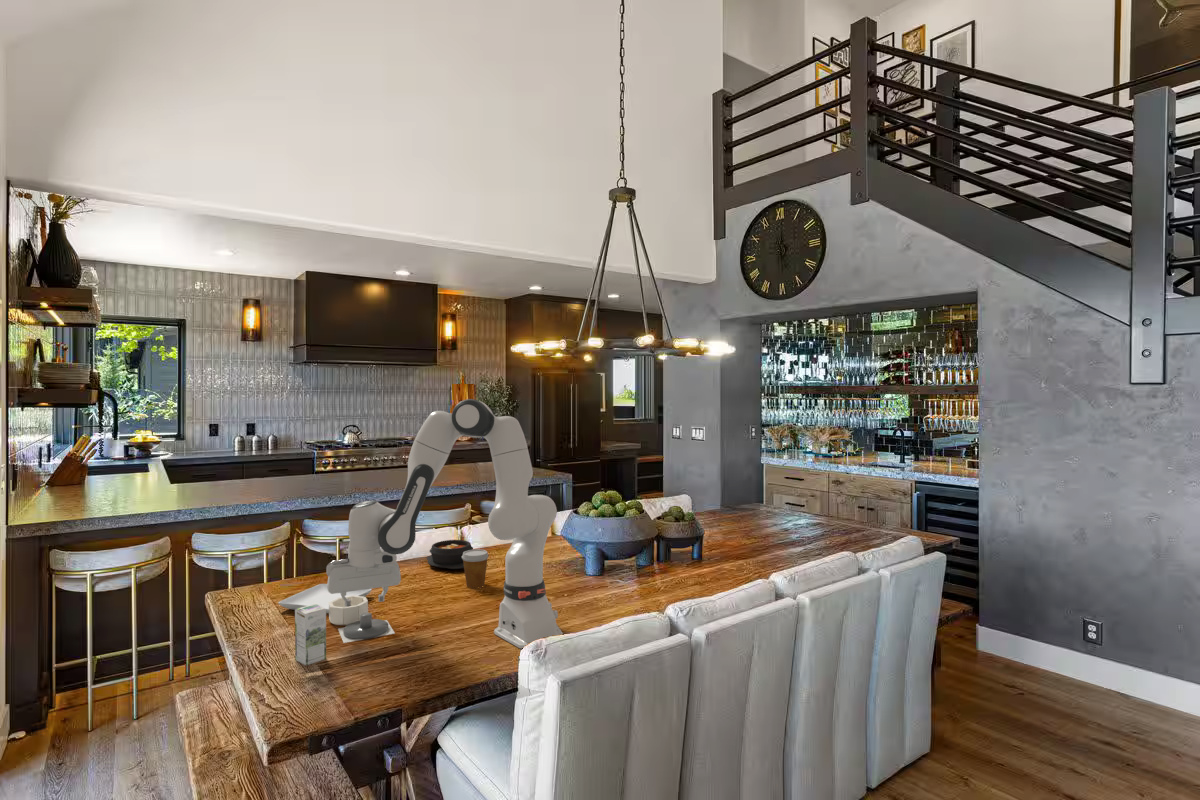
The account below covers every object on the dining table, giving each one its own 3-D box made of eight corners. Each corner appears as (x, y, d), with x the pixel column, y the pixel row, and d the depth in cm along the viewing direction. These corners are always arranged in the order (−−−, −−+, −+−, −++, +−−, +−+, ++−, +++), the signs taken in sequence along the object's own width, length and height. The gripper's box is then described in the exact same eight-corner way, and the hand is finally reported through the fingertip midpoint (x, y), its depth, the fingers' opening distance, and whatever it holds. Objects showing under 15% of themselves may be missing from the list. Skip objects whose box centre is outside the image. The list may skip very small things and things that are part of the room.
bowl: (370, 623, 201) (369, 604, 201) (332, 630, 196) (331, 610, 196) (364, 612, 210) (363, 593, 210) (327, 618, 205) (327, 599, 205)
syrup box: (316, 655, 178) (315, 602, 178) (327, 661, 174) (326, 607, 174) (295, 662, 174) (293, 608, 173) (306, 668, 170) (305, 613, 169)
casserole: (488, 567, 260) (488, 546, 260) (446, 576, 248) (446, 554, 247) (456, 554, 279) (456, 534, 278) (415, 563, 266) (415, 542, 266)
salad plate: (373, 597, 226) (373, 587, 226) (333, 619, 206) (332, 608, 205) (321, 592, 232) (321, 582, 232) (276, 613, 211) (276, 602, 211)
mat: (395, 635, 191) (394, 633, 191) (343, 645, 184) (343, 642, 184) (386, 622, 202) (386, 619, 202) (337, 631, 195) (337, 628, 195)
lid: (392, 634, 191) (391, 617, 190) (346, 642, 185) (346, 625, 184) (383, 620, 202) (383, 604, 201) (340, 627, 196) (340, 611, 195)
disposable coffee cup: (491, 581, 241) (491, 549, 241) (484, 590, 232) (484, 556, 231) (466, 581, 242) (466, 548, 242) (458, 589, 233) (458, 555, 232)
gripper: (327, 564, 185) (327, 612, 186) (402, 555, 195) (401, 601, 195) (325, 558, 191) (325, 605, 191) (397, 550, 200) (397, 595, 201)
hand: (364, 603), depth 193 cm, fingers open, 8 cm apart
